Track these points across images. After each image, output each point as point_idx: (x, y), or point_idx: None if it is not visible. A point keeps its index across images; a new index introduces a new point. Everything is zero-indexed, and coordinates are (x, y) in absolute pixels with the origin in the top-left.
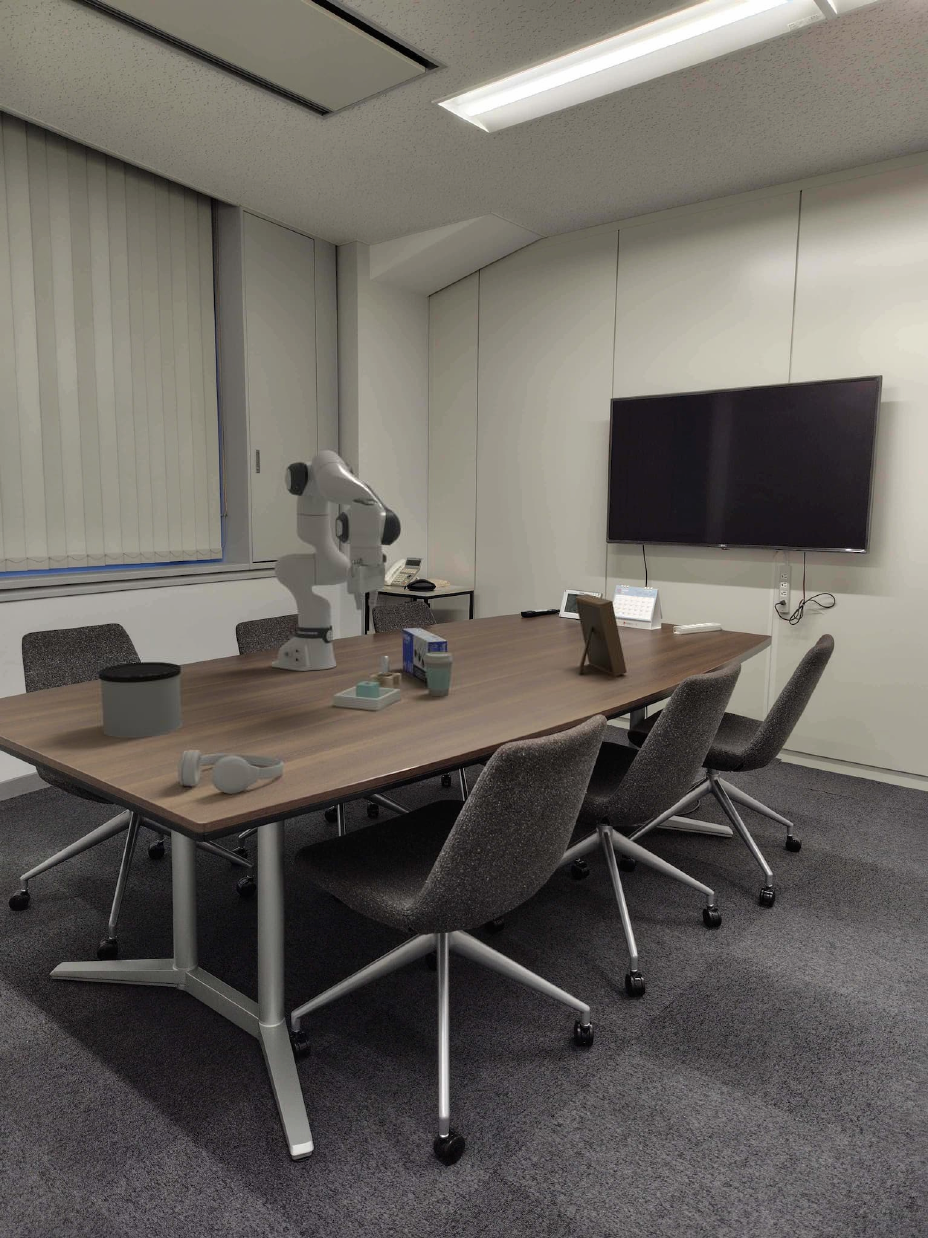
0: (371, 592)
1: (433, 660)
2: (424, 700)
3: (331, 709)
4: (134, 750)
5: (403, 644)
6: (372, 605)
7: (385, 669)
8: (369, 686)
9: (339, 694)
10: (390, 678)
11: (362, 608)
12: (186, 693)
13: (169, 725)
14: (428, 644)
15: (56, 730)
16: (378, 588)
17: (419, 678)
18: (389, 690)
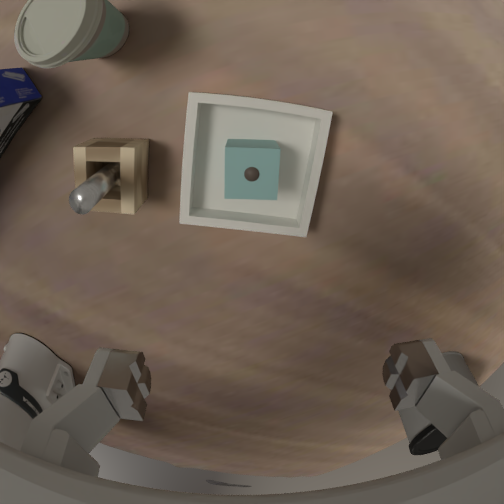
0: (90, 460)
1: (96, 10)
2: (182, 34)
3: (332, 217)
4: (499, 336)
5: None
6: (143, 361)
7: (105, 180)
8: (279, 157)
9: (292, 227)
10: (135, 148)
11: (433, 341)
12: (265, 425)
13: (455, 357)
14: None
15: None
16: (45, 468)
17: (5, 149)
18: (195, 123)
